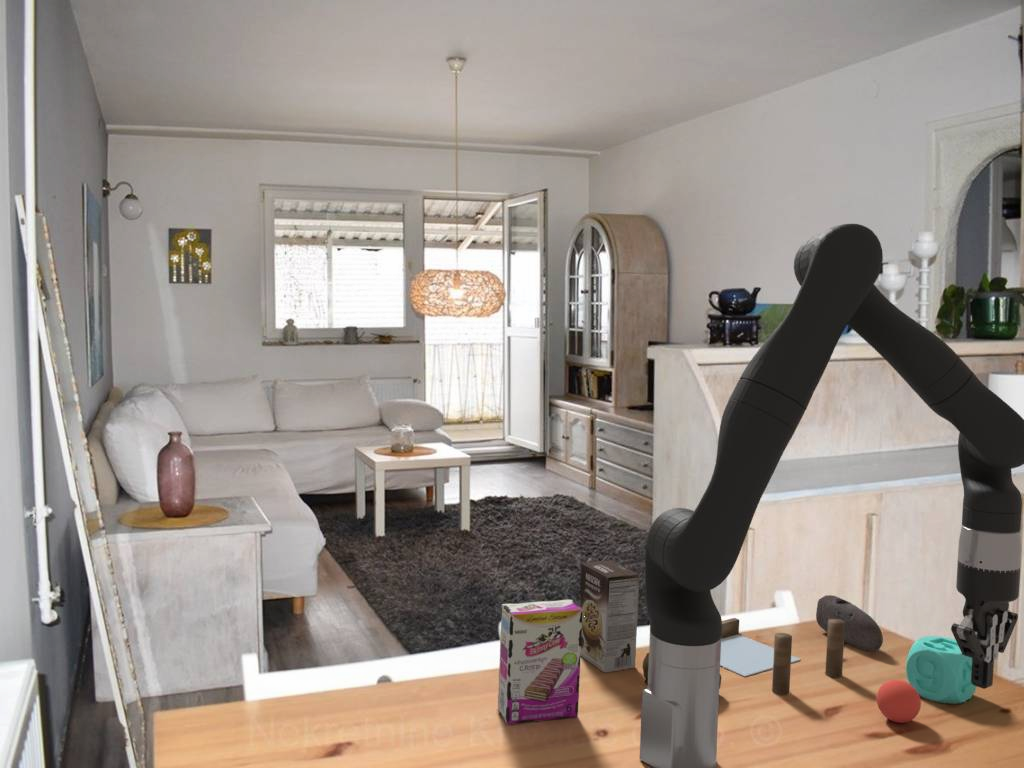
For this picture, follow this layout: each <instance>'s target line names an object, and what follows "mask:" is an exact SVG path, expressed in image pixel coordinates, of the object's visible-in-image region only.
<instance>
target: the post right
mask: <svg viewBox="0 0 1024 768" xmlns="http://www.w3.org/2000/svg"><path fill="white" fill-rule="evenodd" d="M844 631H845V622H844V621H843V620H839V619H829V620H828V633H826V635H827V637H826V653H825V671H824V673H825V675H826V676H827V677H829V678H835V679H838V678H842V677H843V667H844V665H843V664H844V648H845V647H844V646H845V642H844Z"/></svg>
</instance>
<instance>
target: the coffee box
mask: <svg viewBox="0 0 1024 768" xmlns="http://www.w3.org/2000/svg"><path fill="white" fill-rule="evenodd" d="M579 588H580V589H579V590H580V593H579V595H580V597H579V607H580V608H581V609H582V610H583V611H582V633H581V655H580V657H582V658H584V659H585V660H587V661H588V662H589V663H590V664H592V665H593V666H595V667H596V668H597V669H598V670H600V671H601V670H602V671H601V672H603V673H611V671H612V672H617V671H616V670H618V671H622V670H621V669H624V670H629V668H630V669H635V668H636V659H637V658H636V656H637V655H636V653H637V650H636V649H637V634H638V633H637V630H638V611H639V609H638V608H639V591H640V590H639V589H640V573H637V572H635V571H633V570H631V569H629V568H627V567H626V566H623V565H622V564H619V563H618V562H615V561H614V560H613V559H610V560H595V561H587V562H582V563H580V586H579ZM584 616H585V617H584ZM634 667H635V668H634Z"/></svg>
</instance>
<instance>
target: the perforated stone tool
mask: <svg viewBox="0 0 1024 768" xmlns="http://www.w3.org/2000/svg"><path fill="white" fill-rule="evenodd" d="M815 619H816V622H817V625H818V626H819V627H820V629H823V630H824V631H825V632H826V634H828V620H829V619H839V620H843V621H844V622H845V631H844V644H845V643H846V644H848V645H851V646H853V647H856V648H858V649H861V650H864V651H868V652H876V651H878V650H879V649H881V647H882V646H883V643H884V638H883V633H882V630H881V628H880V626H879V625H878V623H877V622H876V621H875V620H874V618H873V617H872V616H870V615H869V614H868V613H867V612H866V611H863V610H862V609H861V608H859V607H858V606H856V605H855V604H853V603H852V602H850V601H848V600H845V599H843V598H841V597H839V596H836V595H824V596H822V597H821V598H819V599H818V600H817V607H816V612H815Z"/></svg>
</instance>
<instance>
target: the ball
mask: <svg viewBox="0 0 1024 768" xmlns="http://www.w3.org/2000/svg"><path fill="white" fill-rule="evenodd" d="M876 704H877V707H878V709H879V712H880V713H881V714H882V715H883V716H884V717H886V719H888V720H890V721H892V722H895V723H900V724H901V723H902V724H903V723H908V722H910V721H912V720H914V719H915V718H917V716H918V715H919V713H920V711H921V708H922V707H921V705H922V702H921V696H920V695H919V694H918V692H917V690H916V689H915V688H914V687H913V686H912V685H911V684H910V683H909V681H908V682H907V681H905V680H903V679H895V678H894V679H890V680H887V681H885V682H884V683H882V685H881V686H880V687H879V688H878V690H877V693H876Z"/></svg>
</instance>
